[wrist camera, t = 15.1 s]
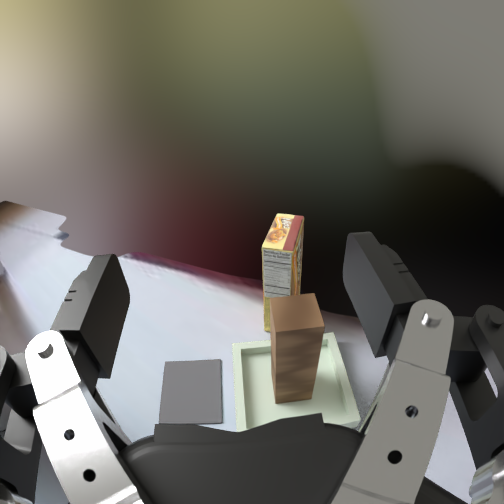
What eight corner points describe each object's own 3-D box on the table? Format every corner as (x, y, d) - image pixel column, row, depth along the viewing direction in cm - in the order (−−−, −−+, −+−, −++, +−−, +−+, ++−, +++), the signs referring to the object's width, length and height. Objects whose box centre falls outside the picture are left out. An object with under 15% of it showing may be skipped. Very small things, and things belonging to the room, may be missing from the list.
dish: (239, 444, 32) (237, 437, 31) (233, 352, 44) (232, 343, 42) (356, 427, 32) (360, 420, 31) (331, 341, 44) (333, 332, 43)
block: (275, 403, 36) (275, 331, 28) (271, 374, 39) (269, 297, 31) (311, 399, 36) (324, 325, 28) (305, 370, 39) (314, 293, 31)
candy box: (276, 293, 53) (275, 212, 45) (301, 296, 52) (304, 215, 44) (263, 332, 47) (259, 246, 38) (291, 336, 45) (294, 250, 37)
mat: (159, 423, 34) (158, 423, 34) (165, 362, 42) (165, 361, 42) (222, 423, 34) (221, 422, 34) (220, 359, 43) (220, 359, 42)
